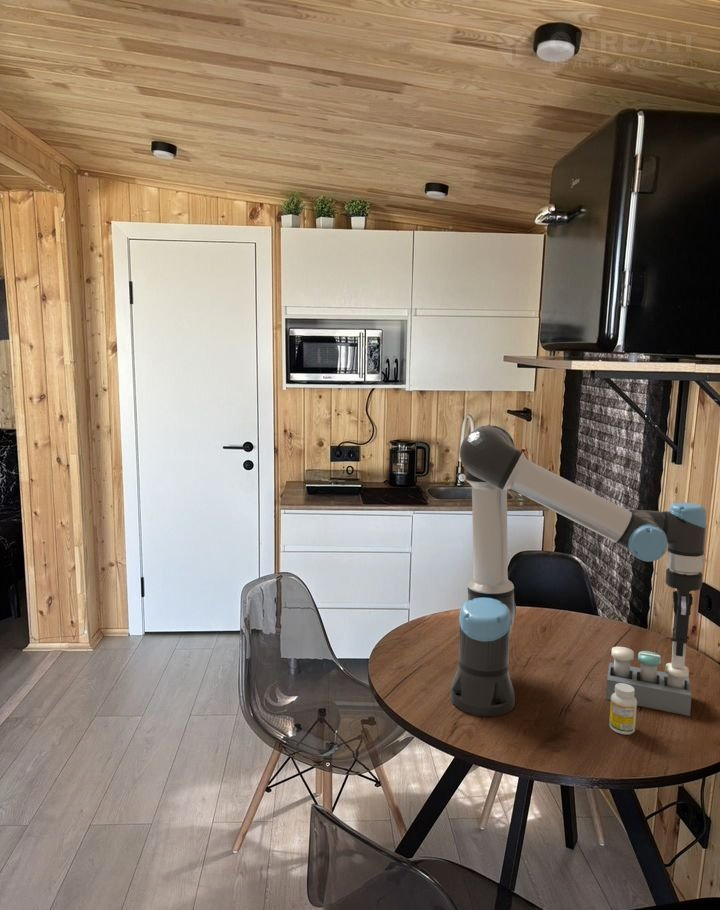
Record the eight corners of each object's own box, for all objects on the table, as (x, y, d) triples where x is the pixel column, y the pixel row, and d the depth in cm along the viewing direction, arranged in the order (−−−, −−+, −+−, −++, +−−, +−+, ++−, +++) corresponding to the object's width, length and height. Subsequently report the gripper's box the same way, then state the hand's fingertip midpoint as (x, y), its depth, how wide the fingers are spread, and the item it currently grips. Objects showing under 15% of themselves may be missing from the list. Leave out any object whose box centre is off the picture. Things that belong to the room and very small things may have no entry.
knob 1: (632, 682, 152) (633, 657, 151) (609, 678, 154) (611, 653, 153) (632, 673, 156) (634, 648, 155) (610, 669, 158) (612, 645, 157)
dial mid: (659, 687, 149) (661, 660, 148) (636, 683, 151) (638, 656, 150) (659, 678, 154) (661, 652, 153) (636, 674, 156) (638, 648, 155)
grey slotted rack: (689, 716, 145) (691, 695, 144) (605, 699, 152) (607, 679, 152) (687, 696, 154) (688, 676, 153) (608, 680, 161) (609, 662, 161)
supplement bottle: (627, 738, 136) (630, 696, 135) (604, 727, 140) (606, 686, 139) (639, 729, 139) (642, 688, 138) (616, 719, 144) (619, 679, 142)
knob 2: (687, 700, 147) (689, 674, 146) (663, 695, 149) (665, 670, 148) (686, 690, 152) (688, 665, 151) (663, 686, 154) (665, 661, 153)
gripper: (705, 580, 139) (697, 682, 142) (700, 564, 151) (693, 658, 154) (667, 576, 142) (660, 675, 145) (665, 560, 154) (659, 652, 157)
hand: (677, 666), depth 149 cm, fingers closed
